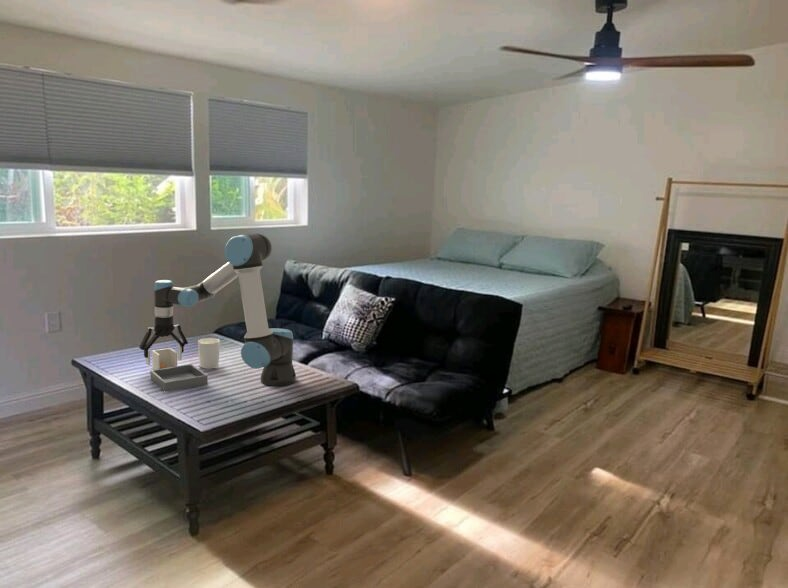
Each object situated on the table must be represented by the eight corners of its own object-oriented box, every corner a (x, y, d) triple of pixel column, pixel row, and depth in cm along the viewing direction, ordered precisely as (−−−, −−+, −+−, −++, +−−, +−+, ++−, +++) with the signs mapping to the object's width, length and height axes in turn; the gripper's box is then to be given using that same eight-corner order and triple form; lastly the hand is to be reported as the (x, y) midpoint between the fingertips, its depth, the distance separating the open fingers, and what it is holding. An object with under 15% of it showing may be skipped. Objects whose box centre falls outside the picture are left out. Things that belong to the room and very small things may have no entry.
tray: (207, 384, 236) (207, 375, 235) (165, 392, 224) (164, 382, 224) (191, 372, 249) (191, 364, 248) (150, 379, 237) (150, 370, 237)
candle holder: (193, 367, 256) (193, 342, 253) (205, 361, 265) (205, 336, 263) (212, 370, 253) (212, 344, 251) (224, 364, 263) (224, 339, 261)
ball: (168, 368, 250) (165, 362, 248) (161, 371, 248) (159, 366, 247) (165, 365, 252) (163, 360, 250) (159, 368, 250) (157, 363, 249)
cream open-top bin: (177, 371, 249) (177, 352, 247) (158, 375, 244) (158, 355, 242) (170, 367, 255) (170, 348, 253) (152, 369, 249) (152, 350, 248)
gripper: (189, 311, 255) (188, 355, 259) (131, 316, 239) (131, 363, 243) (195, 314, 250) (195, 360, 254) (136, 320, 234) (137, 368, 238)
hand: (164, 362), depth 248 cm, fingers open, 13 cm apart
